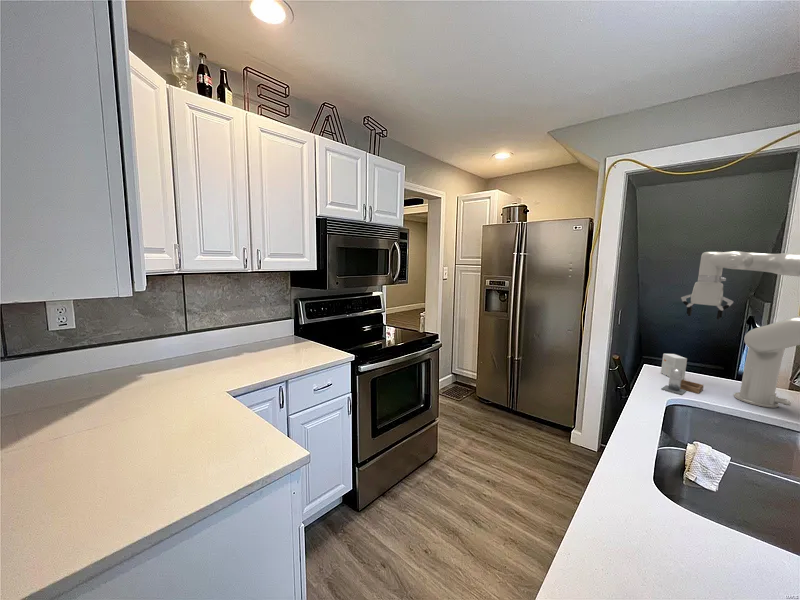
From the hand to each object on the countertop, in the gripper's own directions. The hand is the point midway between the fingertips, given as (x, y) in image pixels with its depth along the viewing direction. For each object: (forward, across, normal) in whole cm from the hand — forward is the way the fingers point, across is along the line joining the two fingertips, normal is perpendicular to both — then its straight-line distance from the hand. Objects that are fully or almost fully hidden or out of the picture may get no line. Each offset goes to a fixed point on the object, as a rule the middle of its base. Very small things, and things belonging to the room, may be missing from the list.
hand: (703, 317), depth 148 cm
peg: (+31, +4, +18) cm, 36 cm away
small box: (+32, +9, -6) cm, 34 cm away
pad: (+32, +4, +18) cm, 37 cm away
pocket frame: (+32, 0, +9) cm, 33 cm away
